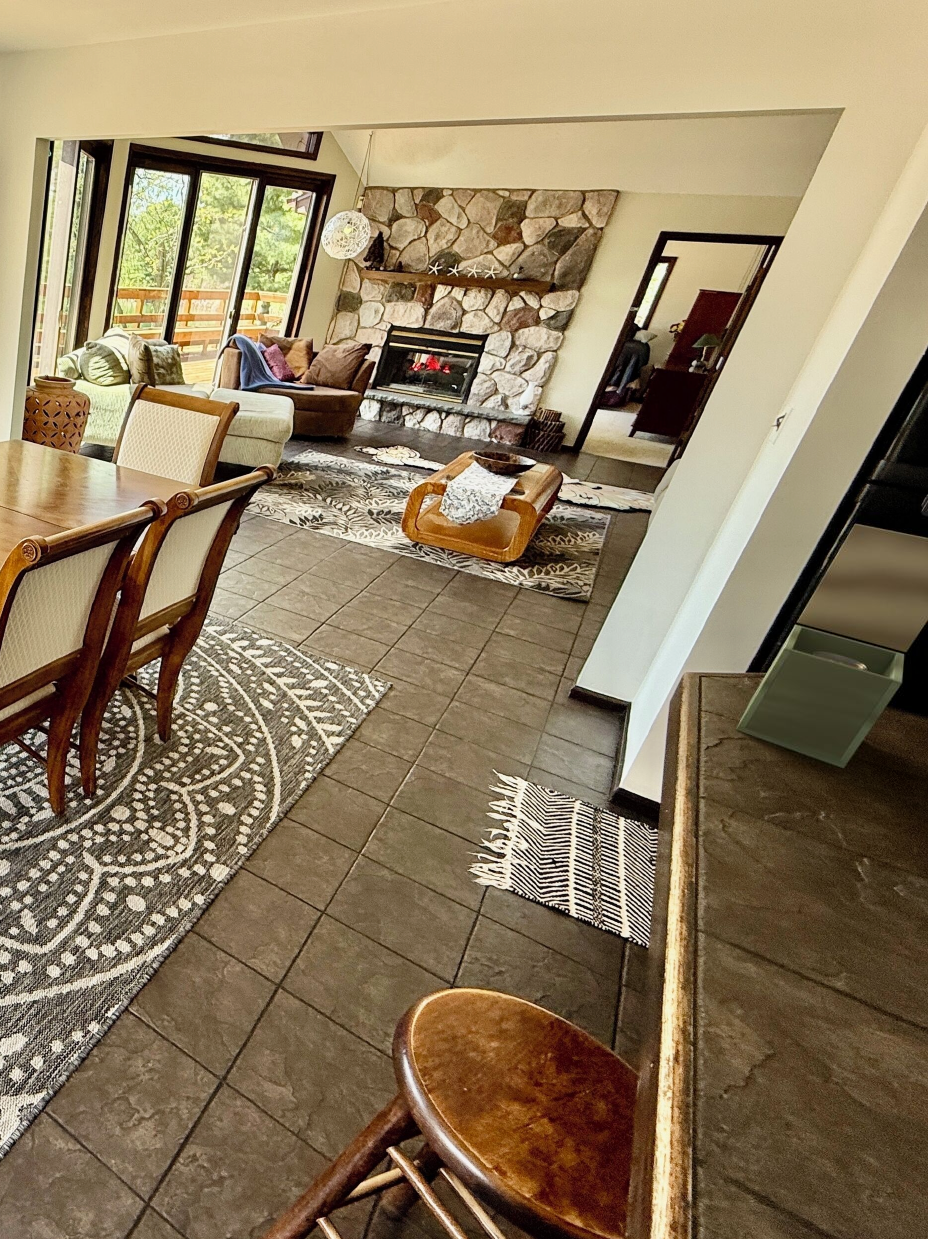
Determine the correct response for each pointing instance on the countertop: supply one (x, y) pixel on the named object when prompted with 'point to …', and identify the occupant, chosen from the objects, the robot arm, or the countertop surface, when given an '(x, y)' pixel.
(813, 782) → the countertop surface
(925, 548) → the lid
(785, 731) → the chest
